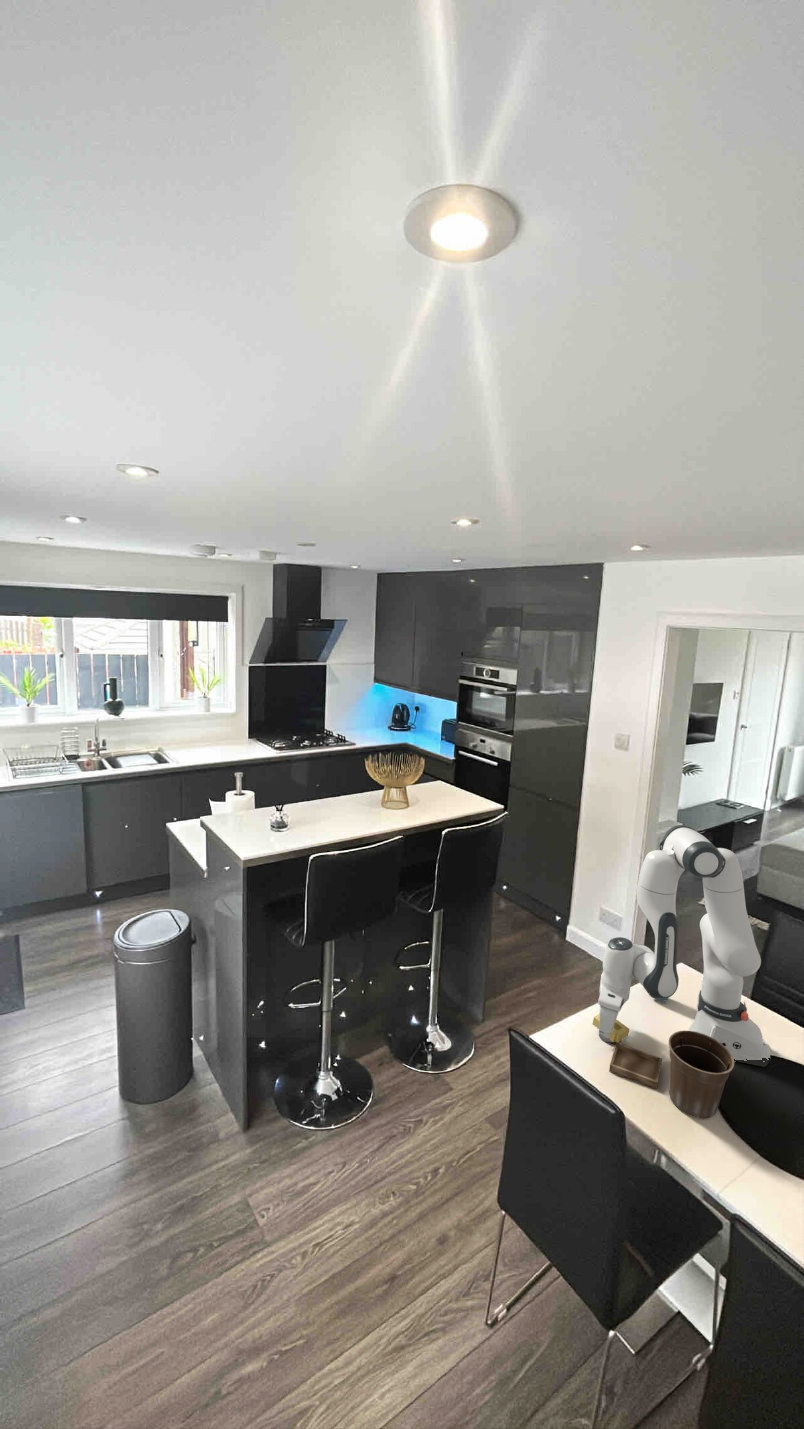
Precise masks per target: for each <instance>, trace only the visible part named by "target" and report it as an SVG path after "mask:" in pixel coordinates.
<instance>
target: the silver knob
mask: <svg viewBox="0 0 804 1429" xmlns="http://www.w3.org/2000/svg"><path fill="white" fill-rule="evenodd" d="M613 1028H614V1027H613ZM598 1037H599V1038H600V1040H602V1041H603V1042H604V1043H606V1044H608V1045H612V1046H614V1045H615V1046H616V1043H617V1042H616V1041H614V1042H612V1041H611V1040H609V1038H606V1037H604V1032H602V1031H601V1030H599V1029H598ZM622 1041H623V1040H621V1041H620V1042H618V1043H620V1044H622Z"/></svg>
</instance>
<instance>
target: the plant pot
mask: <svg viewBox="0 0 804 1429" xmlns="http://www.w3.org/2000/svg"><path fill="white" fill-rule="evenodd" d="M668 1048H669V1059H670V1063H669V1064H670V1067H669V1083H668V1084H669V1085H668V1086H669V1087H668V1088H669V1089H668V1094H669V1098H670V1101H671V1102H672V1103H673V1105H674V1106H675V1107H676V1108H677V1109H679V1110H680V1111H681V1112H682V1113H684V1114H685V1115H687V1116H689V1117H698V1118H699V1119H700V1120H706V1119H710V1118H713V1117H714V1116H715V1115H716V1114H717V1112H718V1108H719V1105H720V1102H721V1099H722V1095H723V1092H724V1089H725V1085H726V1082H727V1080H728V1079H729V1076H730V1073H731V1071H733V1069H734V1068H735V1061H734V1059H733V1056H732V1054H731V1053H730V1052H729V1050H728V1049H727V1048H726V1047H725V1046H724V1045H722V1044H721V1043H720V1042H718V1041H717V1040H715V1039H713V1038H712V1037H709V1036H707V1035H705V1034H702V1033H698V1032H694V1031H690V1030H678V1031H676V1032H674V1033H672V1034H671V1035H670V1036H669V1038H668Z"/></svg>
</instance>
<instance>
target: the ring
mask: <svg viewBox="0 0 804 1429" xmlns="http://www.w3.org/2000/svg"><path fill="white" fill-rule="evenodd" d="M591 1024H592V1025H593V1026H594V1027H596V1028H597V1029H598V1031H599V1030H600V1029H599V1013H598V1014H597V1015H595V1016H594V1017H593V1020H592V1023H591ZM602 1032H603V1031H602ZM629 1033H630V1028H629V1027H627V1026H626V1025H625V1024H623V1023H622V1022H621V1021H619V1020H618V1019H616V1022H615V1024H614V1028H613V1031H612V1033H611V1034H610V1038H609V1040H611V1041H612V1042H614V1041H616V1042H617V1043H618V1042H620V1041H621V1040H622V1041H623V1040H624V1039H626V1038H627V1037H628V1036H629Z"/></svg>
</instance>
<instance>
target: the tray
mask: <svg viewBox="0 0 804 1429" xmlns="http://www.w3.org/2000/svg"><path fill="white" fill-rule="evenodd" d="M662 1060H663V1058H662V1057H659V1056H656V1055H653V1054H651V1053H648V1052H645V1051H643V1050H639V1049H636V1048H634V1047H631V1046H629V1045H625V1044H623V1043H616V1045H615V1046H614V1050H613V1054H612V1056H611V1060H610V1063H609V1069H608V1072H610V1073H612V1074H614V1075H617V1076H620V1077H623V1078H625V1079H628V1080H631V1081H634V1082H636V1083H639V1084H641V1085H643V1086H646V1087H649V1088H652V1089H655V1090H657V1089H658V1083H659V1078H660V1073H661V1067H662Z"/></svg>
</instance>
